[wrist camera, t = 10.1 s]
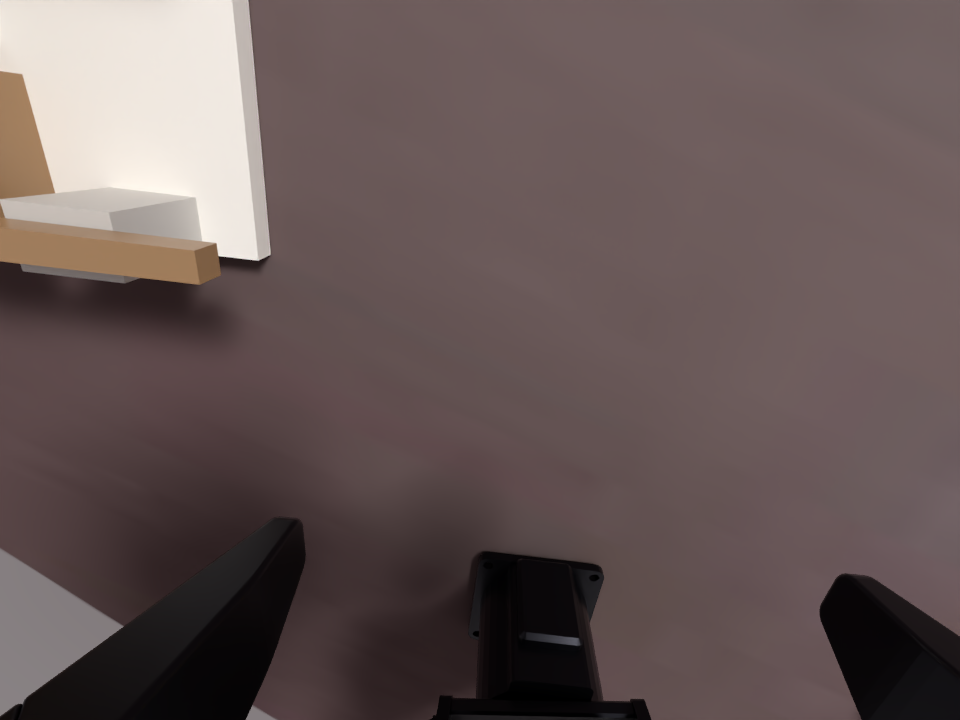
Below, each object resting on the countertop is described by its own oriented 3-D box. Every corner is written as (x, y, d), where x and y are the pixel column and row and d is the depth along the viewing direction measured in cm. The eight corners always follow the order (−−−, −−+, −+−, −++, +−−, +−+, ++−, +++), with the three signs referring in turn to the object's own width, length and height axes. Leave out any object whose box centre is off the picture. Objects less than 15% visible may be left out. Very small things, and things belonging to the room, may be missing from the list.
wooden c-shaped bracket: (245, -232, 11) (77, -475, 7) (282, 247, 17) (200, 286, 12) (-146, -280, 11) (-568, -555, 7) (13, 216, 17) (-170, 243, 12)
